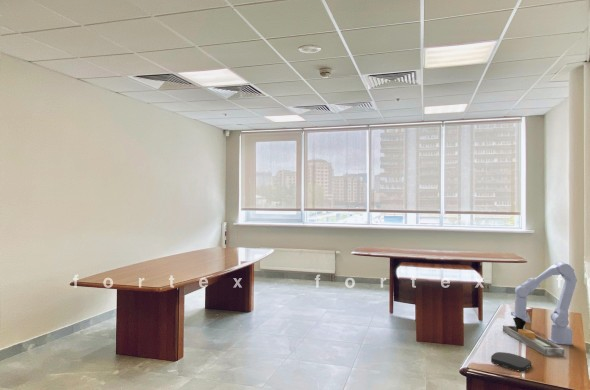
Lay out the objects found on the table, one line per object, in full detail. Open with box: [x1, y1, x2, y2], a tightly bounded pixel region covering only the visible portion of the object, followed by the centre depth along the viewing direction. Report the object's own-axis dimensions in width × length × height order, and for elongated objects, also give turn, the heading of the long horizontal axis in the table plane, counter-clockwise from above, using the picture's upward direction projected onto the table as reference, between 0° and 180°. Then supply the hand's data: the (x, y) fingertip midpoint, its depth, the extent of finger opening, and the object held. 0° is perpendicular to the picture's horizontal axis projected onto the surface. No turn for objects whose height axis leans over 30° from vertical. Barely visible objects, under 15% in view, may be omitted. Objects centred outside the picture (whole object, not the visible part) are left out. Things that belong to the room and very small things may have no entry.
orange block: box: [518, 329, 536, 339], centre depth 218 cm, size 6×6×3 cm
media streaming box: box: [490, 351, 532, 372], centre depth 183 cm, size 15×15×3 cm
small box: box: [514, 306, 533, 331], centre depth 240 cm, size 8×6×13 cm
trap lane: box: [502, 324, 565, 357], centre depth 214 cm, size 10×36×4 cm, turn 3°
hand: (519, 331), depth 224 cm, fingers closed
